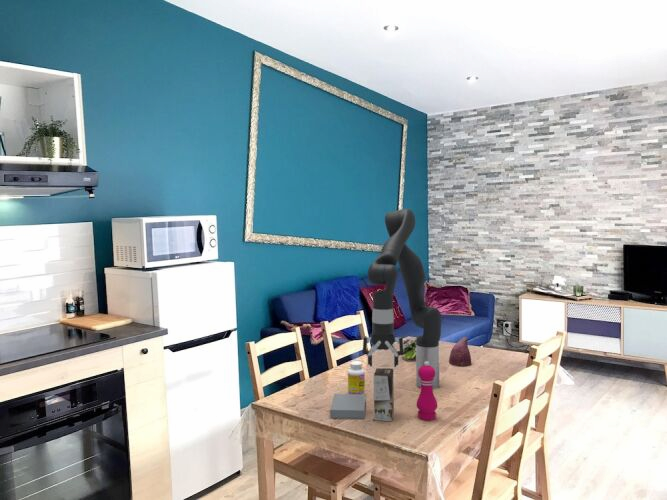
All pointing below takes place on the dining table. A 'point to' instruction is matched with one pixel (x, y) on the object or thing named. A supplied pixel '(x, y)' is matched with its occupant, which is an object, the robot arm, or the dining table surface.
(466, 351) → the vegetable
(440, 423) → the dining table surface
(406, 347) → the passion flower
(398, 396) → the dining table surface
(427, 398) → the pepper mill
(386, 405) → the coffee box
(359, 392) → the supplement bottle
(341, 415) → the block
